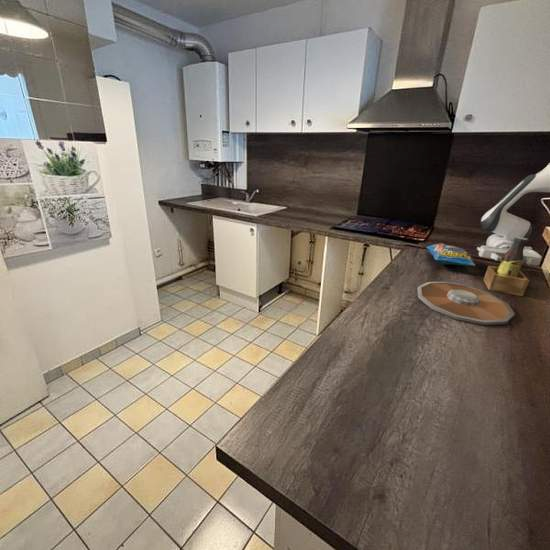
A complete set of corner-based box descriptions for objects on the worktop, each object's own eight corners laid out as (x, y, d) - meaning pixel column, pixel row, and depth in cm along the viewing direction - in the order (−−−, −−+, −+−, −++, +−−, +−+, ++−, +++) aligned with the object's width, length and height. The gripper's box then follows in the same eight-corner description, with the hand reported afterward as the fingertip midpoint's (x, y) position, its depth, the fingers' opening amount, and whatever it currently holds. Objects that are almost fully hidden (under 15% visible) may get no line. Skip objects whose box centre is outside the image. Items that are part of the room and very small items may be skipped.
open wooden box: (514, 285, 120) (520, 270, 117) (522, 296, 111) (529, 280, 108) (483, 279, 124) (488, 265, 121) (488, 289, 115) (494, 274, 112)
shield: (427, 270, 122) (516, 292, 106) (425, 277, 123) (513, 300, 107) (408, 296, 100) (517, 329, 84) (406, 304, 101) (513, 338, 85)
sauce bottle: (503, 289, 114) (522, 240, 106) (488, 282, 119) (506, 236, 111) (515, 288, 115) (535, 240, 107) (500, 281, 121) (518, 235, 113)
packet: (432, 269, 132) (437, 252, 129) (424, 253, 153) (428, 237, 149) (474, 275, 128) (481, 257, 124) (460, 258, 148) (466, 242, 145)
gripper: (478, 240, 126) (484, 248, 114) (536, 247, 119) (549, 258, 107) (473, 253, 129) (479, 263, 117) (530, 262, 121) (542, 273, 110)
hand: (513, 261), depth 112 cm, fingers open, 8 cm apart
